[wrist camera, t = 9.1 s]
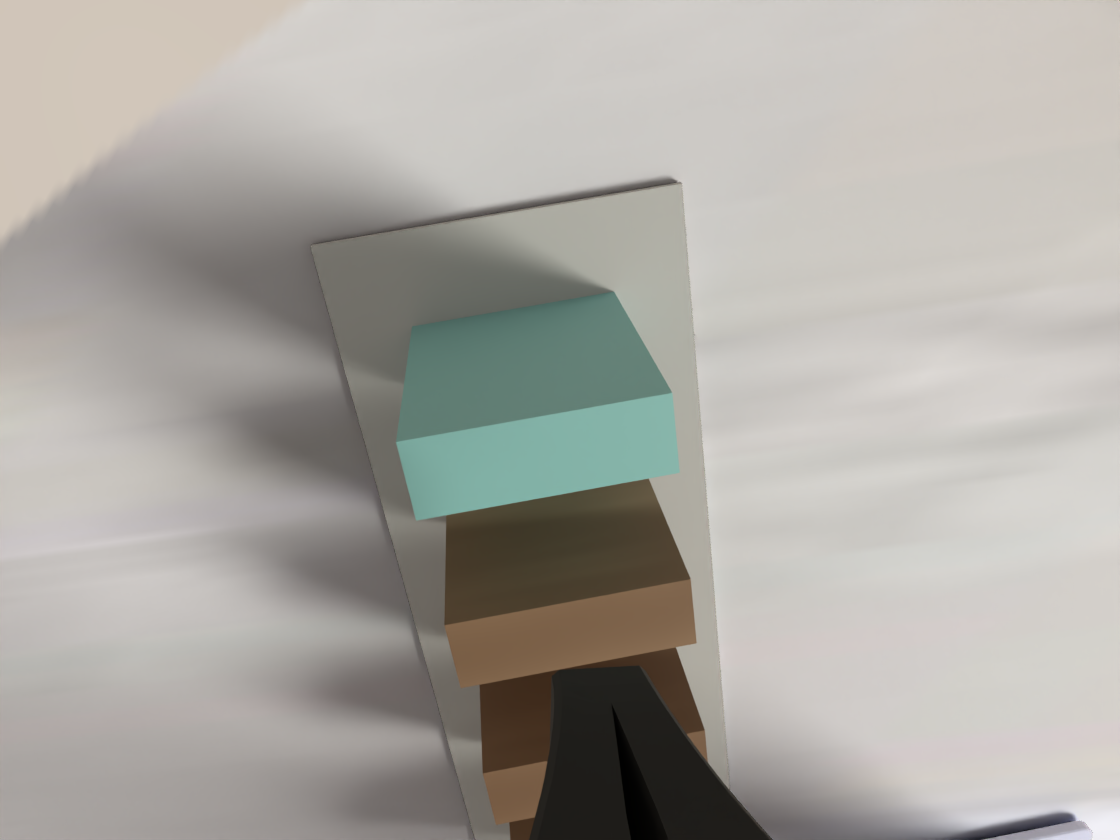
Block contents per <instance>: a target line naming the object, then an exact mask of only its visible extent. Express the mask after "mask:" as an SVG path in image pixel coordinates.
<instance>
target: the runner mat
mask: <svg viewBox="0 0 1120 840" xmlns="http://www.w3.org/2000/svg"><path fill="white" fill-rule="evenodd" d="M310 248H311V251H312V255H313V259H314V262H315V266H316V269H317V273H318V277H319V280H320V284H321V287H322V291H323V295H324V298H325V302H326V305H327V309H328V313H329V316H330V320H331V323H332V327H333V331H334V334H335V338H336V341H337V345H338V349H339V352H340V356H341V359H342V363H343V367H344V370H345V374H346V377H347V381H348V385H349V388H350V392H351V395H352V399H353V403H354V406H355V410H356V413H357V417H358V421H359V424H360V428H361V431H362V435H363V439H364V442H365V446H366V449H367V453H368V457H369V460H370V464H371V467H372V471H373V475H374V478H375V482H376V485H377V489H378V493H379V496H380V500H381V503H382V507H383V511H384V514H385V518H386V521H387V525H388V529H389V532H390V536H391V539H392V543H393V547H394V550H395V554H396V557H397V561H398V565H399V568H400V572H401V575H402V579H403V583H404V586H405V590H406V593H407V597H408V601H409V604H410V608H411V611H412V615H413V619H414V622H415V626H416V629H417V633H418V637H419V640H420V644H421V647H422V651H423V655H424V658H425V662H426V665H427V669H428V673H429V676H430V680H431V683H432V687H433V691H434V694H435V698H436V701H437V705H438V709H439V712H440V716H441V719H442V723H443V727H444V730H445V734H446V737H447V741H448V745H449V748H450V752H451V755H452V759H453V763H454V766H455V770H456V773H457V777H458V781H459V784H460V788H461V791H462V795H463V799H464V802H465V806H466V809H467V813H468V817H469V820H470V824H471V827H472V831H473V835H474V838H475V840H510V826H509V822H508V823H503V824H498V825H496V823H495V819H494V815H493V812H492V808H491V804H490V800H489V796H488V792H487V788H486V784H485V781H484V777H483V769H482V741H481V714H480V686H479V685H476V686H470V687H465V688H460V684H459V680H458V676H457V672H456V669H455V665H454V661H453V657H452V653H451V649H450V645H449V641H448V638H447V634H446V630H445V626H444V617H445V561H446V515H445V516H440V517H434V518H429V519H423V520H418V521H416V518H415V514H414V510H413V506H412V502H411V499H410V495H409V491H408V487H407V483H406V479H405V475H404V471H403V468H402V464H401V460H400V456H399V452H398V448H397V444H396V438H397V431H398V424H399V416H400V409H401V402H402V395H403V388H404V380H405V373H406V366H407V359H408V352H409V344H410V337H411V330H412V326H417V325H423V324H429V323H435V322H441V321H446V320H452V319H458V318H464V317H469V316H475V315H481V314H487V313H493V312H498V311H504V310H510V309H516V308H522V307H527V306H533V305H539V304H545V303H550V302H556V301H562V300H568V299H574V298H579V297H585V296H591V295H597V294H603V293H608V292H615V294H616V296H617V298H618V299H619V301H620V303H621V304H622V306H623V308H624V310H625V311H626V313H627V315H628V317H629V318H630V320H631V322H632V324H633V325H634V327H635V329H636V331H637V332H638V334H639V336H640V337H641V339H642V341H643V343H644V344H645V346H646V348H647V350H648V351H649V353H650V355H651V357H652V358H653V360H654V362H655V363H656V365H657V367H658V369H659V370H660V372H661V374H662V376H663V377H664V379H665V381H666V383H667V384H668V386H669V388H670V390H671V391H672V394H673V404H674V415H675V426H676V437H677V448H678V458H679V469H680V473H676V474H671V475H665V476H660V477H654V478H649V481H650V483H651V485H652V488H653V490H654V492H655V495H656V497H657V500H658V502H659V504H660V507H661V509H662V512H663V514H664V516H665V519H666V521H667V524H668V526H669V528H670V531H671V533H672V536H673V538H674V540H675V543H676V545H677V547H678V550H679V552H680V555H681V557H682V559H683V562H684V564H685V567H686V569H687V571H688V574H689V576H690V579H691V587H692V598H693V608H694V619H695V630H696V641H697V643H696V644H691V645H685V646H680V647H676V649H677V652H678V655H679V658H680V661H681V663H682V666H683V669H684V672H685V675H686V678H687V681H688V683H689V686H690V689H691V692H692V695H693V698H694V701H695V703H696V706H697V709H698V712H699V715H700V718H701V721H702V723H703V726H704V729H705V737H706V748H707V758H708V763H709V765H710V766H711V767H712V769H713V770H714V771H715V772H716V774H717V775H718V776H719V778H720V779H721V780H722V781H723V783H724V784H725V785H726V786H727V788H728V789H729V790H730V784H729V772H728V759H727V747H726V734H725V721H724V709H723V696H722V683H721V671H720V658H719V645H718V633H717V620H716V607H715V595H714V582H713V569H712V557H711V544H710V531H709V519H708V506H707V494H706V481H705V468H704V456H703V443H702V430H701V418H700V405H699V392H698V380H697V367H696V354H695V342H694V329H693V316H692V304H691V291H690V279H689V266H688V253H687V241H686V228H685V215H684V203H683V190H682V183H680V182H678V183H672V184H666V185H660V186H654V187H648V188H642V189H637V190H631V191H625V192H619V193H613V194H607V195H601V196H595V197H589V198H584V199H578V200H572V201H566V202H560V203H554V204H548V205H542V206H536V207H531V208H525V209H519V210H513V211H507V212H501V213H495V214H489V215H483V216H477V217H472V218H466V219H460V220H454V221H448V222H442V223H436V224H430V225H424V226H419V227H413V228H407V229H401V230H395V231H389V232H383V233H377V234H371V235H366V236H360V237H354V238H348V239H342V240H336V241H330V242H324V243H318V244H313V245H311V246H310Z"/></svg>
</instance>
